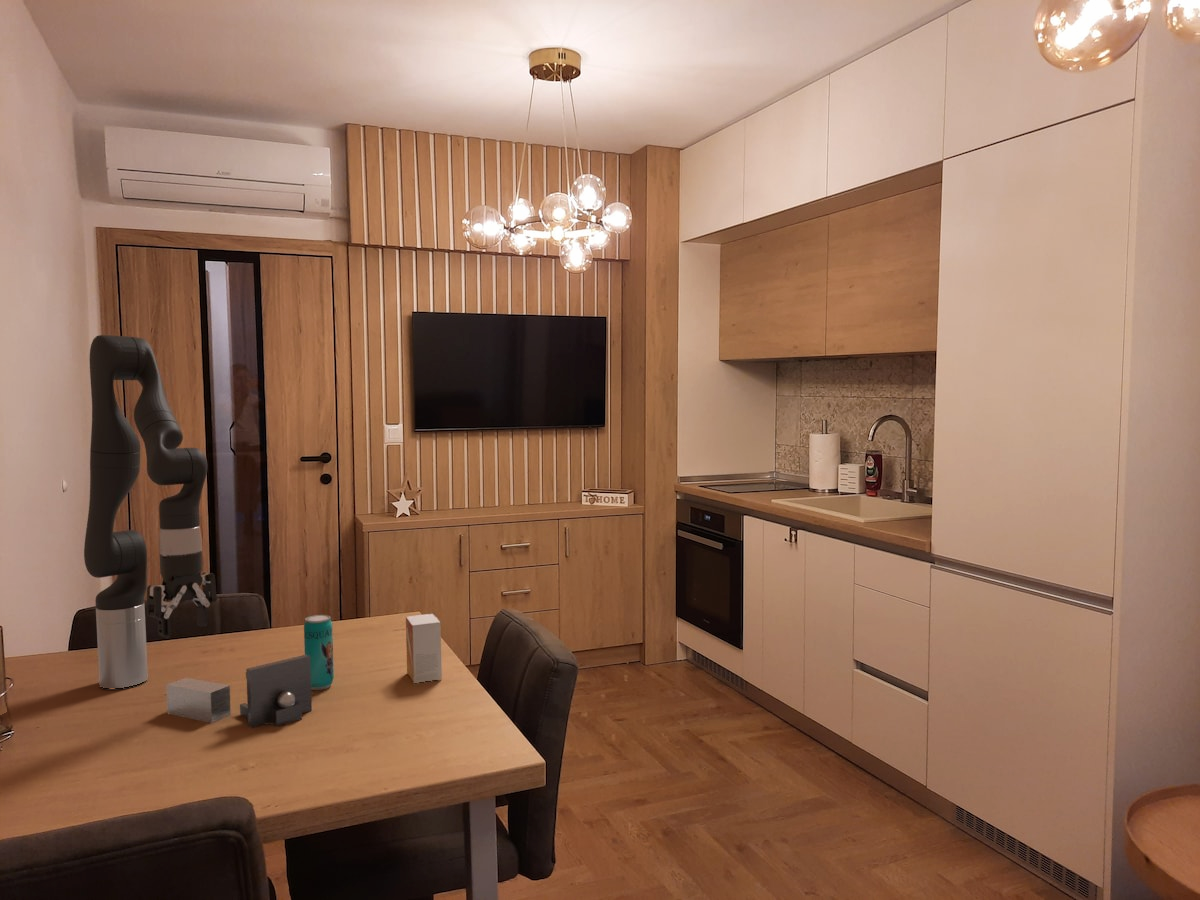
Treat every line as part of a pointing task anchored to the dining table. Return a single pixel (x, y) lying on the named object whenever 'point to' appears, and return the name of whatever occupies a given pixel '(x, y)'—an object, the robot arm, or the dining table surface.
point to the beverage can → (319, 650)
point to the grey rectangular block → (198, 699)
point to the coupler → (278, 692)
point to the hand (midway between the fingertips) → (184, 631)
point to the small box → (423, 648)
